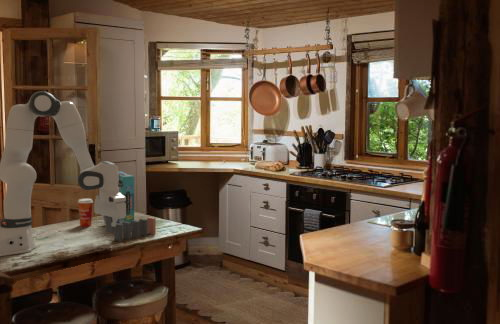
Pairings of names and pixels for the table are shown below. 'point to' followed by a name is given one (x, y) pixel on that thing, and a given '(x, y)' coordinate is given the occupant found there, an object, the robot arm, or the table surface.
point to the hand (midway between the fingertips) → (109, 225)
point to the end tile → (151, 225)
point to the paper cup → (85, 212)
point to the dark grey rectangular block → (109, 225)
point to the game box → (127, 195)
